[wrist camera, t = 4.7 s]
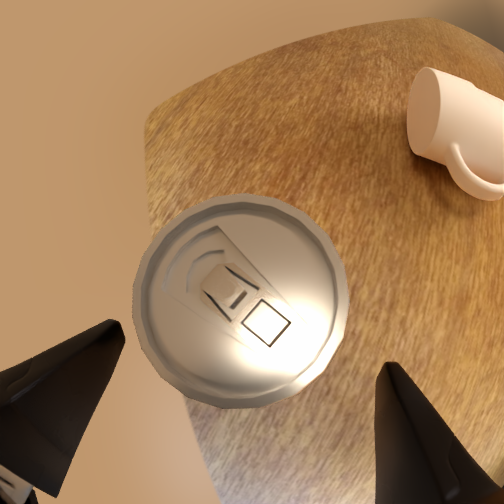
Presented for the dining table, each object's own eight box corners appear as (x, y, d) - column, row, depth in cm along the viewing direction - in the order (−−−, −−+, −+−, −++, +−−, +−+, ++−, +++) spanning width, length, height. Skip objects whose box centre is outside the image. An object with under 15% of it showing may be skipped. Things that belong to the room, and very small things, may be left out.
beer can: (326, 321, 17) (403, 275, 5) (271, 386, 16) (245, 463, 5) (262, 270, 18) (227, 152, 7) (208, 331, 17) (89, 302, 6)
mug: (400, 107, 22) (420, 46, 15) (471, 131, 20) (500, 82, 13) (416, 207, 18) (463, 143, 11) (497, 228, 17) (550, 185, 9)
